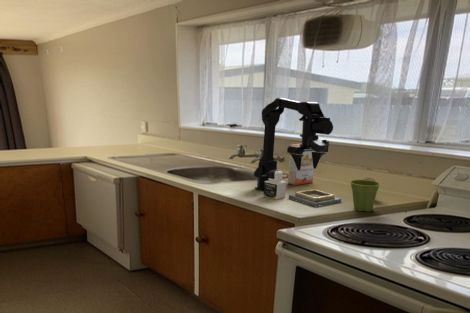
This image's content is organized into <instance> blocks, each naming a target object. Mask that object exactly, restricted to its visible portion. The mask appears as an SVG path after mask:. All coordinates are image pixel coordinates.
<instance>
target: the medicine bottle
mask: <svg viewBox="0 0 470 313" xmlns="http://www.w3.org/2000/svg"><path fill="white" fill-rule="evenodd" d="M286 188H287V181H284V180H283V171H282V170H278V169H276V170H271V171H269V180H268V181H265V182H264V191H263V197H264V198H268V199H272V200H280V199H283V198H286V194H287V193H286V191H287V189H286Z"/></svg>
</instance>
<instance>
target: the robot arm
mask: <svg viewBox="0 0 470 313" xmlns="http://www.w3.org/2000/svg"><path fill="white" fill-rule="evenodd" d="M285 109H287V110H293V111H295V112H297V113H299V114H300V115H301V117H300V118H299V119H298V120H299V121H300V122H302V130H301V131H302V132H301V133H300V134H299V137H300V138H301V143H298V144H299V146H290V145H289V146H287V148H286V149H287V150H286V151H287V153H289V156H290V155H291V156H292V158H293V160H294V162H295V164H296V167H297V169H298V170H300V168H301V159H302V157H303V156H304V155H303V152H304V151H312V161H313V168H314V169H317V167H318V165H319V162H320V160H321V158H322V156H324V155H326V153H328V152H329V146H330V140H328V139H323V140H320V139H319V135H326V136H328V135H330V134H332V132H333V130H334V125H333V122H332V120H331V117H328V116H325V114H324V113H323V110H322V109H321V105H320V104H319V103H318V102H317V101H298V100H293V99H288V98H286V97H276V98H275V99H274V100H273V101H271V102H270V103H269V104H266V106H265V107H264V108H263V109H262V110H261V121H262V122H263V125H264V132H263V133H264V134H263V148H262V149H263V150H262V156H261V157H260V159H259V161H258V165H257V168H255V170H254V171H253V176H254V177H255V178H257V179H256V180H257V181H256V183H257V184H256V186H254V189H255V190H258V191H262V192H264V182H265V181H268V180H269V171H271V170H278V166H277V165H278V160H275V158H274V152H275V151H274V149H275V138H276V137H275V135H276V127H277V125H278V123H279V121H280V118H281V115H282V114H283V113H284V112H285ZM317 134H319V135H317Z"/></svg>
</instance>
